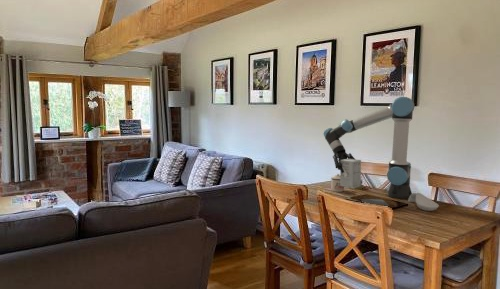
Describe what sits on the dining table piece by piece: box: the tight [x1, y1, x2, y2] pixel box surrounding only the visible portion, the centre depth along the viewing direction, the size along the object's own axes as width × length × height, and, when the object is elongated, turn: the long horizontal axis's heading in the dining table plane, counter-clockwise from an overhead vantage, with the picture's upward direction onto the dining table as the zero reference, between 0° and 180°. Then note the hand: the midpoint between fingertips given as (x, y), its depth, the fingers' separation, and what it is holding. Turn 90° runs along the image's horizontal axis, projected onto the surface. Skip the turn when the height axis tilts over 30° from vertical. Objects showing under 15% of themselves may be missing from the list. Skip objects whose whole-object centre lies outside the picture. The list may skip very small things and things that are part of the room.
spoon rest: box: [407, 192, 440, 212], centre depth 224 cm, size 24×12×7 cm, turn 5°
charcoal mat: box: [360, 198, 390, 207], centre depth 230 cm, size 13×13×1 cm
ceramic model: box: [351, 179, 364, 190], centre depth 277 cm, size 14×11×10 cm
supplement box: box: [339, 158, 362, 189], centre depth 240 cm, size 10×9×17 cm
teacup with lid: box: [330, 173, 345, 193], centre depth 265 cm, size 12×9×12 cm
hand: (353, 175), depth 238 cm, fingers closed on supplement box, 11 cm apart
